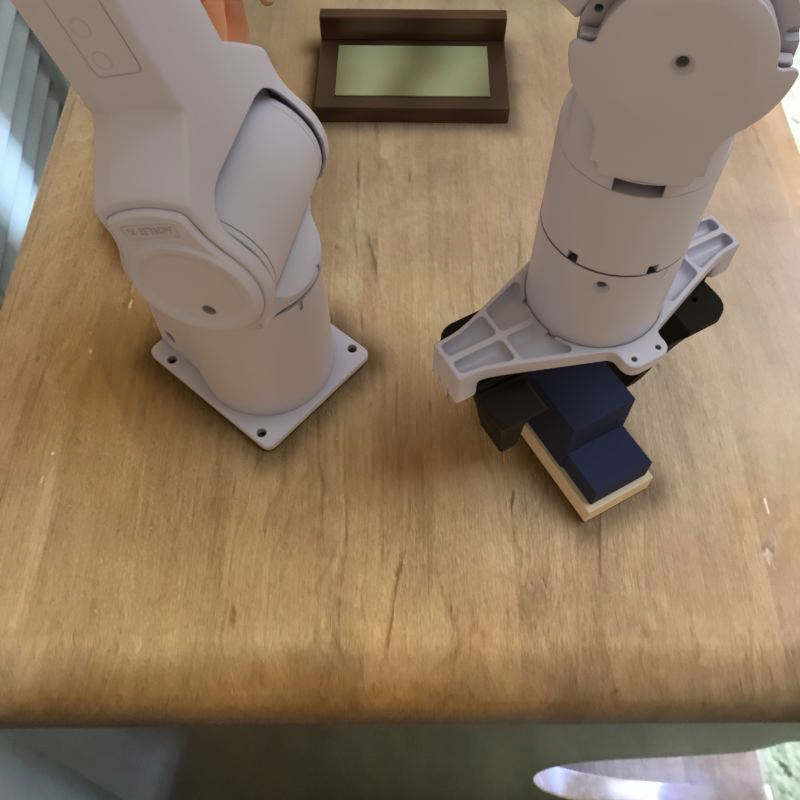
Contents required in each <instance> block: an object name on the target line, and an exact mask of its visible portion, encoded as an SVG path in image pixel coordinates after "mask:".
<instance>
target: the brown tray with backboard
mask: <svg viewBox="0 0 800 800" xmlns="http://www.w3.org/2000/svg"><path fill="white" fill-rule="evenodd" d="M507 11H508V10H507V9H447V8H446V9H443V8H442V9H438V8H437V9H433V8H432V9H431V8H428V9H426V8H425V9H424V8H421V9H420V8H319V15H318V19H319V20H318V21H319V31H320V49H319V58H318V70H317V79H316V91H315V99H314V100H315V101H314V114H315V115H316V116H317V118H318V119H319V121H320V122H386V123H387V122H389V123H391V122H392V123H394V122H395V123H398V122H400V123H493V124H494V123H497V124H499V123H500V124H501V123H502V124H503V123H505V124H507V123H509V119H510V111H511V105H510V104H511V103H510V93H509V92H510V91H509V80H508V67H507V55H506V43H505V42H506V41H505V40H506V34H507V33H506V32H507V25H508V12H507Z"/></svg>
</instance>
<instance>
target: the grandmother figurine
mask: <svg viewBox="0 0 800 800" xmlns="http://www.w3.org/2000/svg"><path fill="white" fill-rule="evenodd" d="M200 1H201V3H202V5H203V7H204V9H205V11H206V12H207V14H208V16H209V18H210V20H211V22H212V24H213V26H214V28H215V30H216V31H217V33H218V35H219V37H220V39H221V40H222V41H231V42H240V43H246V44H251V39H250V29H249V28H250V27H249V21H248V17H247V12H246V9H245V5H244V1H243V0H200ZM275 1H276V0H259V2H260V3H261V4H262V6H264V7H271V6H272V5H274V3H275Z"/></svg>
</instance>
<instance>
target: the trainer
mask: <svg viewBox="0 0 800 800" xmlns="http://www.w3.org/2000/svg"><path fill="white" fill-rule="evenodd" d="M527 373H528V374H527V378H526V379H527V381H528V382H529V383H530V385H531V386H532V387H533V389H534V390H535V391H536V393H537V394H538V395H539V397H540V398H541V399H542V401H543V402H544V403H545V405H546V406H547V407H548V409H547V410H545V411H543V412H541V413H539V414H537V415H535V416H533V417H531V418H530V419H529V420H528V421H527V422H526V424H525V425H524V427H523V429H522V432H521V435H520V436H522V438H523V439H524V440H525V442H526V443H527V445H528V446H529V447H530V449H531V450H532V451H533V453H534V455H535V456H536V457H537V458H538V461H540V463H541V464H542V466H543V467H544V468H545V470H546V471H547V472H548V474H549V475H550V477H551V478H552V479H553V481H554V482H555V483H556V485H557V486H558V488H559V489H560V491H561V492H562V493H563V494H564V496H565V498H566V499H567V500H568V501H569V503H570V504H571V505H572V507H573V508H574V510H575V511H576V512H577V514H578V515H579V517H580V518H581V520H582V521H583V522H584V523H585V522H587V521H590V520H591V519H593V518H595V517H597V516H598V515H600V514H602V513H603V512H606V511H608V510H609V509H611V508H612V507H615V506H616V505H618V504H619V503H622V502H623V501H625V500H627V499H629V498H630V497H632V496H635V495H636V494H637V493H639V492H642V491H644V490H645V489H646V488H648V487H649V485H650V484H651V482H652V480H653V479H654V476H653V475H652V473H651V472H650V470H649V469H650V467H651V466H652V464H653V461H652V459H650V457H649V456H648V455H647V454H646V452H645V451H644V450H643V449H642V447H641V446H640V445H639V443H638V442H637V441H636V439H634V437H633V436H632V435H631V434H630V432H629V431H628V429H627V428H626V427H625V426H624V425H625V423H626V421H627V418H628V417H629V414H630V412H631V410H632V408H633V405H634V404H635V402H636V397H635V396H634V394H632V392H631V391H630V390H629V389H628V387H625V385H624V384H623V383H622V382H621V380H620V379H619V378H618V377H617V376H616V374H615V373H614V372H613V371H612V369H611V368H610V367H609V366H608V365H607V363H606V362H605V361H600V362H593V363H586V364H579V365H572V366H564V367H557V368H550V369H543V370H536V371H528V372H527Z"/></svg>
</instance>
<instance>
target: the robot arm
mask: <svg viewBox="0 0 800 800" xmlns="http://www.w3.org/2000/svg"><path fill="white" fill-rule="evenodd" d="M9 1H10V2H11V4H12V5H13V7H14V8H15V10H16V11H17V12H18V13H19V15H20V16H21V17H22V19H23V20H24V22H25V23H26V24H27V26H28V27H29V29H30V30H31V31H32V33H33V35H35V37H36V38H37V40H38V42H40V44H41V46H42V47H43V48H44V49H45V51H46V53H47V54H48V55H49V56H50V58H51V59H52V61H54V63H55V65H56V66H57V68H58V69H59V71H60V72H61V73H62V74H63V76H64V77H65V79H66V80H67V81H68V83H69V84H70V85H71V87H72V89H74V92H76V94H77V95H78V96H79V98H80V99H81V101H82V102H83V104H84V105H85V107H86V108H87V109H88V111H89V112H90V113H91V116H92V120H93V121H92V122H93V156H92V157H93V158H92V159H93V162H92V163H93V164H92V165H93V166H92V167H93V168H92V205H93V206H92V207H93V212H94V215H95V216H96V218H98V220H99V221H100V222H101V223H102V225H103V226H104V227H105V228H106V229H107V231H108V232H109V234H110V235H111V237H112V239H113V241H114V242H115V244H116V247H117V249H118V252H119V259H120V264H121V267H122V270H123V272H124V274H125V276H126V277H127V279H128V280H129V282H130V283H131V284H132V286H133V287H134V288H135V289H136V291H137V292H138V293H139V294H140V296H141V297H142V298H143V299H144V300H145V301H146V303H147V306H148V308H149V310H150V312H151V315H152V318H153V319H154V321H155V324H156V326H157V329H158V331H159V333H160V336H161V339H160V340H159V341H158V342H156V343H155V344H154V345H153V346H152V347H151V351H150V352H151V355H152V357H153V358H154V360H155V361H157V362H158V364H160V365H161V366H162V367H164V368H165V369H166V370H167V371H168V372H170V373H171V374H172V375H173V376H174V377H176V378H177V379H178V380H179V381H181V382H182V383H183V384H184V385H186V386H187V387H188V388H189V389H190V390H192V391H193V392H194V393H195V394H197V396H199V397H201V399H203V400H204V401H205V402H206V403H207V404H209V405H210V406H211V407H212V408H214V409H215V410H216V411H217V412H218V413H219V414H221V415H222V416H223V417H224V418H226V419H227V421H229V422H230V423H231V424H232V425H234V426H235V427H236V428H238V429H239V431H241V432H243V433H244V434H245V435H246V436H247V437H248V438H249V439H251V440H252V441H254V443H256V444H257V445H258V446H259V447H260V448H261V449H263V450H266V451H270V450H274V449H275V448H276V447H278V446H279V445H280V444H281V443H282V442H283V441H284V440H285V439H287V437H288V436H290V434H291V433H292V432H294V431H295V430H296V429H297V428H298V427H299V426H300V425H301V424H302V423H303V422H304V421H305V420H306V419H307V418H309V417H310V415H312V414H313V412H314V411H316V410H317V409H318V408H319V407H320V406H321V405H322V404H323V403H325V402H326V400H327V399H329V398H330V397H331V396H332V395H333V393H335V392H336V391H337V390H338V389H339V388H340V387H341V386H342V385H343V384H344V383H345V382H346V381H348V379H349V378H351V377H352V376H353V375H354V374H355V373H356V372H357V371H358V370H359V369H360V368H362V366H363V365H364V364H365V363H366V362H367V361H368V359H369V352H368V350H367V349H366V347H364V346H362V345H361V344H360V343H359V342H357V341H356V340H354V339H353V338H352V337H350V336H349V335H347V334H346V333H345V332H343V331H342V330H341V329H339V328H338V327H336V326H335V325H333V324H332V323H331V317H330V309H329V301H328V293H327V292H328V291H327V283H326V276H325V269H324V268H325V267H324V260H323V249H322V242H321V237H320V233H319V231H318V227H317V225H316V223H315V220H314V217H313V214H312V205H311V196H312V194H313V191H314V188H315V186H316V183H317V182H318V180H320V178H322V176H323V175H324V172H325V169H326V166H327V165H328V161H329V155H330V148H329V147H330V146H329V140H328V135H327V133H326V131H325V128H324V126H323V124H322V123H321V121H319V119H318V118H317V116H316V114H315V112H314V111H313V110H312V109H311V107H309V106H308V104H306V103H305V102H304V101H303V100H302V99H301V98H300V97H298V95H296V93H294V92H292V90H290V88H289V87H288V85H286V83H284V82H283V80H282V79H281V77H280V75H279V74H278V72H277V71H276V68H275V67H274V66H273V63H272V61H271V59H270V57H269V55H268V53H267V51H266V50H265V49H264V48H263V47H262V46H259V45H256V44H251V43H250V44H246V43H240V42H231V41H222V40H221V39H220V37H219V35H218V33H217V31H216V30H215V28H214V26H213V24H212V22H211V20H210V18H209V16H208V14H207V12H206V11H205V9H204V7H203V5H202V3H201V1H200V0H9ZM557 2H559V3H560V5H562V6H563V7H564V8H565V9H566V10H567V11H568V12H569V13H570V14H571V15H572V16H573V17H574V18H579V19H578V23H577V31H576V37H575V38H573V39H571V40H570V42H569V44H568V51H567V65H568V66H567V67H568V74H569V78H570V81H571V85H572V86H571V88H570V89H569V91H568V92H567V95H566V96H565V98H564V99H563V100H564V101H563V103H562V105H561V108H560V111H559V116H558V119H557V126H556V131H555V137H554V140H553V146H552V151H551V155H550V161H549V166H548V170H547V176H546V180H545V186H544V190H543V194H542V195H543V196H542V199H541V203H540V209H539V214H538V219H537V222H536V223H537V224H536V230H535V234H534V238H533V239H534V240H533V243H532V250H531V254H530V259H529V260H528V261H527V263H526V264H525V265H524V266H523V267H521V268H520V270H518V272H516V273H515V275H513V277H511V279H509V281H507V282H506V283H505V284H504V285H503V286H502V287H501V288H500V289H499V291H497V292H496V294H494V295H493V296H492V297H491V298H490V299H489V300H488V301H487V302H486V303H485V304H484V305H483V306H482V307H481V308H480V309H479V310H476V311H475V312H472V313H470V314H468V315H466V316H464V317H461V318H459V319H457V320H455V321H453V322H451V323H449V324H448V325H446V326H445V327H444V329H443V330H442V332H441V334H440V340H439V341H437V342H435V343H434V344H433V354H432V369H431V370H432V372H433V373H434V375H435V376H436V377H437V379H438V380H439V382H440V384H441V385H442V387H443V388H444V389H445V391H446V392H447V393H448V395H449V397H450V398H451V399H452V401H453V402H454V403H455V404H459V403H462V402H463V401H465V400H467V399H469V398H471V397H472V398H473V400H474V404H475V406H476V410H477V414H478V418H479V424H480V426H481V428H482V429H483V430H484V432H485V433H486V435H487V436H488V438H489V439H490V440H491V442H492V443H493V445H494V446H495V448H496V449H497V450H498V452H501V453H503V452H505V451H506V450H509V449H511V448H513V447H514V446H515V445H516V444H517V443H518V441H519V440H520V437H521V436H522V435H521V432H522V429H523V427H524V425H525V424H526V422H527V421H528V420H529V419H530V418H531V417H533V416H535V415H537V414H539V413H541V412H543V411H545V410H547V409H548V407H547V406H546V405H545V403H544V402H543V401H542V399H541V398H540V397H539V395H538V394H537V393H536V391H535V390H534V389H533V387H532V386H531V385H530V383H529V382H528V381H527V379H526V378H527V374H528V373H527V372H528V371H536V370H543V369H550V368H557V367H564V366H572V365H579V364H586V363H593V362H600V361H605V362H606V363H607V365H608V366H609V367H610V368H611V369H612V371H613V372H614V373H615V374H616V376H617V377H618V378H619V379H620V380H621V382H622V383H623V384H624V385H625V387H626V388H628V387H631V386H633V385H634V384H636V383H637V382H639V381H640V380H641V379H642V378H643V377H645V375H646V374H648V373H649V371H651V369H652V368H653V367H655V366H657V365H659V364H660V363H661V362H662V361H663V360H664V359H665V356H666V355H667V354H668V353H669V352H670V351H671V350H672V349H673V348H674V347H676V346H678V344H680V343H682V342H683V341H684V340H685V339H687V338H690V337H691V336H694V335H696V334H697V333H699V332H701V331H703V330H705V329H707V328H710V327H711V326H713V325H715V324H717V323H718V322H719V321H720V319H721V317H722V316H723V313H724V310H725V307H724V302H723V299H722V298H721V297H720V295H719V294H718V293H717V292H716V291H715V290H714V289H713V288H712V287H711V286H710V285H709V284H708V283H707V282H706V279H707V278H714V277H717V276H718V275H720V274H723V273H725V272H727V270H728V269H729V266H730V264H731V263H732V261H733V259H734V256H736V253H737V251H738V249H739V247H740V245H741V242H740V241H739V240H738V239H737V238H736V237H735V236H734V235H733V234H732V233H731V232H730V231H729V230H728V229H727V228H726V227H725V225H723V224H722V223H721V222H720V221H719V220H718V219H717V218H716V217H715V216H714V215H713V214H709V215H706V216H704V214H705V212H706V210H707V208H708V205H709V203H710V201H711V199H712V196H713V194H714V192H715V190H716V187H717V185H718V183H719V180H720V178H721V176H722V173H723V171H724V169H725V167H726V164H727V163H728V160H729V158H730V156H731V153H732V151H733V148H734V141H735V137H736V134H738V133H739V132H741V131H744V130H745V129H747V128H749V127H750V126H752V125H754V124H755V123H757V122H758V121H760V120H761V119H763V118H764V117H765V116H767V115H768V114H769V113H770V112H772V110H774V109H775V108H776V107H777V106H778V104H780V102H781V101H783V99H784V98H785V97H786V95H788V93H789V92H790V90H791V89H792V88H793V86H794V84H795V83H796V81H797V79H798V77H799V76H800V74H799V73H800V72H799V70H798V69H797V67H793V64H794V58H795V55H796V52H797V50H798V47H799V44H800V0H557ZM350 350H355V351H353V352H351V351H350ZM174 360H175V362H172V363H171V361H174ZM261 433H265V435H264V436H259V434H261Z"/></svg>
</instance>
